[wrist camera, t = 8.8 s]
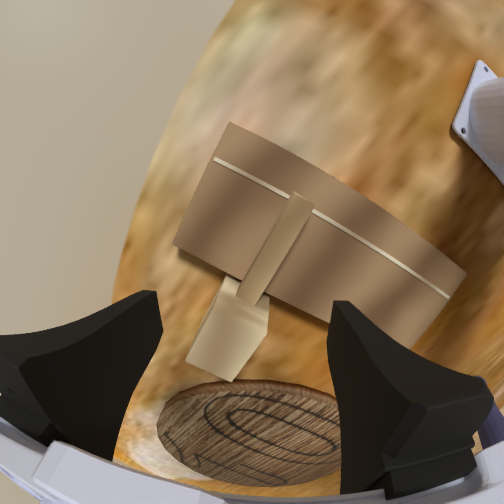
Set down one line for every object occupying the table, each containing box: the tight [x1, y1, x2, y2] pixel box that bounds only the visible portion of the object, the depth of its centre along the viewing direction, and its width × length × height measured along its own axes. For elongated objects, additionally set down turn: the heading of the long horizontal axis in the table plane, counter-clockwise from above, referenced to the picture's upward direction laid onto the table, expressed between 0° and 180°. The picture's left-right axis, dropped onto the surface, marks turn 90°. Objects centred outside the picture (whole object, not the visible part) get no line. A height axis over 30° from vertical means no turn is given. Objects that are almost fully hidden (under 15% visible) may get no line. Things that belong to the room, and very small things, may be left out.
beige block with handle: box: [185, 191, 315, 382], centre depth 19 cm, size 4×14×6 cm, turn 152°
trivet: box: [157, 379, 341, 487], centre depth 29 cm, size 25×25×2 cm
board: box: [172, 122, 467, 350], centre depth 19 cm, size 21×9×2 cm, turn 62°
